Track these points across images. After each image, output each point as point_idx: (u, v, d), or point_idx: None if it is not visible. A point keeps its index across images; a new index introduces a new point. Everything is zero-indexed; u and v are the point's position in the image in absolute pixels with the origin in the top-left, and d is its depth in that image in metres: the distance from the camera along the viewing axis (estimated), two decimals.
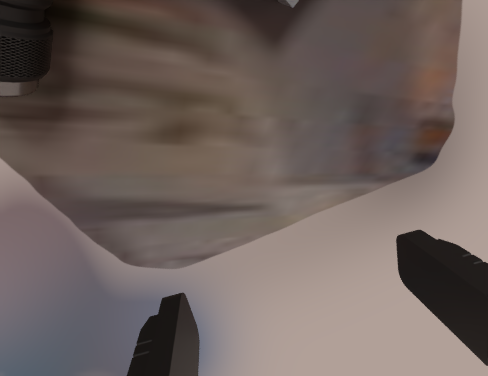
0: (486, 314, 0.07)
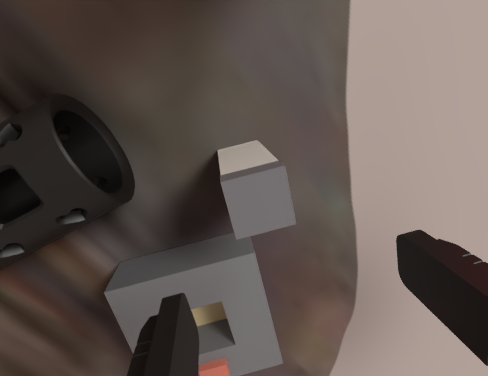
0: (486, 314, 0.07)
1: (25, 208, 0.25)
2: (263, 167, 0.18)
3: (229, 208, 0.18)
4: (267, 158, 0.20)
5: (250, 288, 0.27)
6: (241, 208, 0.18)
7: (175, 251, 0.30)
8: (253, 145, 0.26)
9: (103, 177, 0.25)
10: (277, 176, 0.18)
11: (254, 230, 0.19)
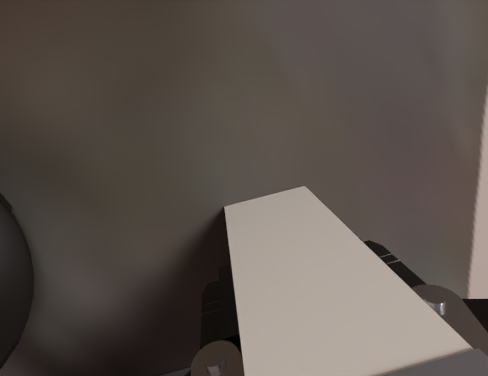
0: None
1: None
2: None
3: None
4: (395, 301, 0.06)
5: None
6: None
7: None
8: (304, 206, 0.12)
9: None
10: None
11: None
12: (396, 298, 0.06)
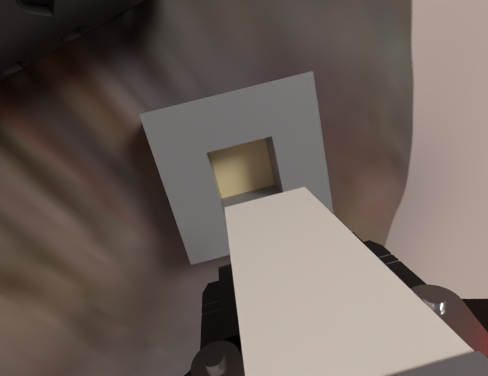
0: None
1: None
2: None
3: None
4: (396, 303, 0.06)
5: (304, 121, 0.24)
6: None
7: None
8: (305, 206, 0.12)
9: None
10: None
11: None
12: (396, 300, 0.06)
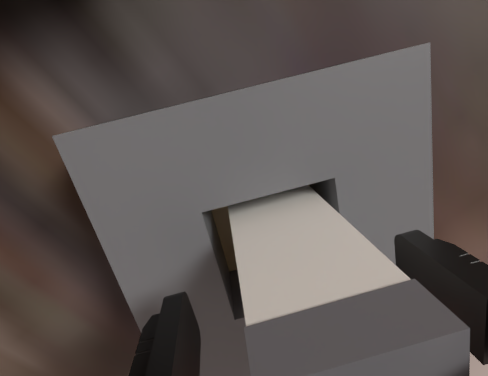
0: (482, 313, 0.07)
1: None
2: (383, 319, 0.06)
3: None
4: (360, 254, 0.08)
5: (402, 146, 0.12)
6: None
7: None
8: (296, 190, 0.14)
9: None
10: (440, 360, 0.05)
11: None
12: (361, 252, 0.08)
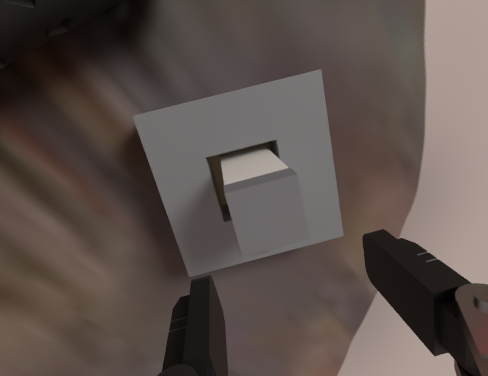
0: (431, 307, 0.08)
1: None
2: (272, 176, 0.16)
3: (234, 222, 0.16)
4: (276, 165, 0.18)
5: (311, 123, 0.22)
6: (248, 223, 0.16)
7: None
8: (258, 149, 0.24)
9: None
10: (289, 186, 0.16)
11: (263, 247, 0.17)
12: (276, 164, 0.18)
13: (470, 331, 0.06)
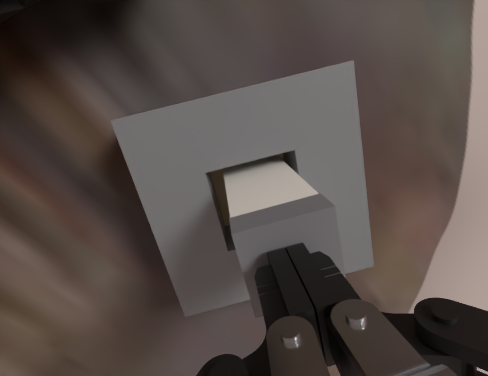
0: (318, 321, 0.08)
1: None
2: (298, 207, 0.12)
3: (245, 272, 0.11)
4: (298, 187, 0.14)
5: (339, 129, 0.17)
6: None
7: None
8: (271, 161, 0.19)
9: None
10: (322, 223, 0.11)
11: None
12: (299, 186, 0.14)
13: (354, 356, 0.06)
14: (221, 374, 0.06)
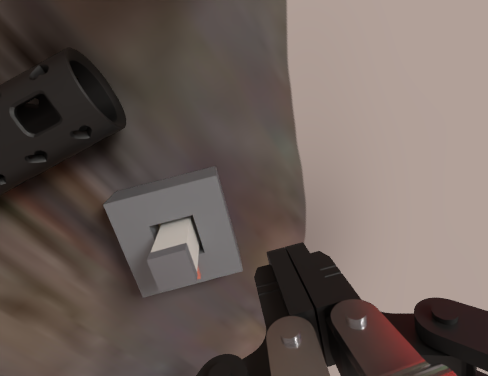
0: (318, 321, 0.08)
1: None
2: (174, 249, 0.30)
3: (153, 274, 0.30)
4: (182, 238, 0.32)
5: (214, 205, 0.36)
6: (161, 274, 0.30)
7: (158, 182, 0.38)
8: (185, 217, 0.38)
9: None
10: (181, 256, 0.30)
11: (170, 286, 0.31)
12: (183, 237, 0.32)
13: (354, 356, 0.06)
14: (221, 374, 0.06)
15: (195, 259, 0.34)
